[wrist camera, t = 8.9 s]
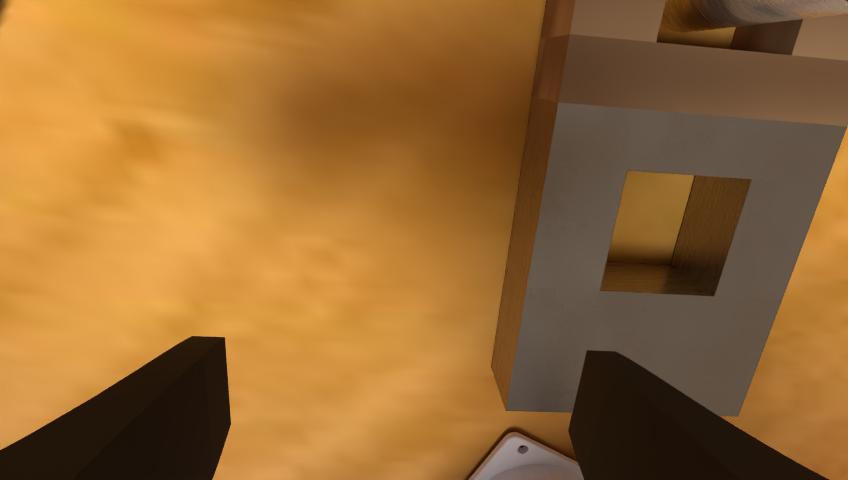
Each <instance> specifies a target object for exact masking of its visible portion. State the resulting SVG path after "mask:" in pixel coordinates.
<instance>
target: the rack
mask: <svg viewBox="0 0 848 480" xmlns="http://www.w3.org/2000/svg"><path fill="white" fill-rule="evenodd" d="M665 2H666V0H547V1H546V8H545V14H544V21H543V27H542V34H541V41H540V47H539V54H538V60H537V67H536V73H535V80H534V87H533V93H532V97H535V98H540V99H545V100H549V101H554V102H559V103H571V104H583V105H595V106H607V107H619V108H632V109H644V110H656V111H668V112H680V113H692V114H704V115H717V116H729V117H741V118H753V119H765V120H777V121H789V122H802V123H814V124H826V125H838V126H847V125H848V14H842V15H834V16H825V17H816V18H808V19H799V20H790V21H782V22H773V23H764V24H756V25H747V26H738V27H737V28H736V32H735V35H734V39H733V43H732V46H731V49H721V48H710V47H700V46H689V45H679V44H668V43H658V42H656V41H657V37H658V32H659V28H660V24H661V19H662V15H663V10H664V6H665Z"/></svg>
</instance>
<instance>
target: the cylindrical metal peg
mask: <svg viewBox="0 0 848 480" xmlns="http://www.w3.org/2000/svg"><path fill="white" fill-rule="evenodd" d="M842 14H848V0H666V2H665V6H664V10H663V15H662V19H661V24H660V27H662V28H663V29H665V30H667V31H670V32H674V33H687V32H695V31H704V30H712V29H721V28H730V27H738V26H747V25H756V24H764V23H773V22H782V21H790V20H799V19H808V18H816V17H825V16H834V15H842Z"/></svg>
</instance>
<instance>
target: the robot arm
mask: <svg viewBox="0 0 848 480" xmlns="http://www.w3.org/2000/svg"><path fill="white" fill-rule="evenodd" d="M230 425H231V418H230V404H229V390H228V376H227V362H226V348H225V337H200V336H192V337H190V338H188V339H186V340H184V341H182V342H181V343H179V344H177V345H176V346H174V347H172V348H171V349H169V350H168V351H166V352H164V353H163V354H161V355H160V356H158V357H157V358H155V359H154V360H152V361H150V362H149V363H147V364H146V365H144V366H143V367H141V368H139V369H138V370H136V371H135V372H133V373H132V374H130V375H128V376H127V377H125V378H124V379H122V380H120V381H119V382H117V383H116V384H114V385H112V386H111V387H109V388H108V389H106V390H104V391H103V392H101V393H100V394H98V395H96V396H95V397H93V398H92V399H90V400H88V401H86V402H85V403H83V404H81V405H80V406H78V407H76V408H74V409H73V410H71V411H69V412H67V413H66V414H64V415H62V416H61V417H59V418H57V419H55V420H54V421H52V422H50V423H49V424H47V425H45V426H43V427H42V428H40V429H38V430H36V431H35V432H33V433H31V434H30V435H28V436H26V437H24V438H22V439H21V440H19V441H17V442H15V443H13V444H11V445H9V446H8V447H6V448H4V449H2V450H0V480H212V478H213V476H214V474H215V471H216V468H217V465H218V462H219V459H220V456H221V453H222V450H223V447H224V444H225V441H226V438H227V435H228V431H229V428H230ZM568 431H569V434H570V438H571V441H572V444H573V448H574V451H575V454H576V458H577V460H578V462H577V461H575V460H573V459H571V458H569V457H566V456H564V455H562V454H560V453H558V452H556V451H554V450H552V449H550V448H548V447H546V446H544V445H542V444H540V443H538V442H536V441H534V440H532V439H530V438H528V437H526V436H524V435H522V434H520V433H517V432H511V433H509V434H507V435H506V436H505V437H504V438H503V439H502V440H501V442H500V443H499V444H498V445H497V446H496V447H495V449H494V450H493V451H492V452H491V453H490V455H489V456H488V457H487V458H486V459H485V461H484V462H483V463H482V464H481V465H480V467H479V468H478V469H477V470H476V471H475V473H474V474H473V475H472V476H471V477H470V479H469V480H829V479H827V478H825V477H823V476H821V475H819V474H817V473H815V472H813V471H811V470H810V469H808V468H806V467H804V466H802V465H801V464H799V463H797V462H795V461H793V460H792V459H790V458H788V457H786V456H784V455H783V454H781V453H779V452H778V451H776V450H774V449H772V448H771V447H769V446H767V445H766V444H764V443H762V442H761V441H759V440H757V439H756V438H754V437H752V436H750V435H749V434H747V433H745V432H744V431H742V430H740V429H739V428H737V427H736V426H734V425H732V424H731V423H729V422H728V421H726V420H724V419H723V418H721V417H720V416H718V415H716V414H715V413H713V412H712V411H710V410H708V409H707V408H705V407H704V406H702V405H701V404H699V403H698V402H696V401H694V400H693V399H691V398H690V397H688V396H687V395H685V394H684V393H682V392H681V391H679V390H678V389H676V388H675V387H673V386H671V385H670V384H668V383H667V382H665V381H664V380H662V379H661V378H659V377H658V376H656V375H655V374H653V373H651V372H650V371H648V370H647V369H645V368H644V367H642V366H640V365H639V364H637V363H636V362H634V361H632V360H631V359H629V358H627V357H625V356H623V355H622V354H620V353H618V352H616V351H594V350H587V352H586V356H585V360H584V365H583V369H582V373H581V378H580V382H579V386H578V391H577V395H576V399H575V404H574V408H573V413H572V417H571V421H570V426H569V430H568ZM522 445H525V446H524V447H521V448H519V447H520V446H522Z"/></svg>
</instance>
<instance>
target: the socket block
mask: <svg viewBox="0 0 848 480" xmlns="http://www.w3.org/2000/svg"><path fill="white" fill-rule="evenodd" d="M846 129H847V126H838V125H826V124H814V123H802V122H789V121H777V120H765V119H753V118H741V117H729V116H717V115H704V114H692V113H680V112H668V111H656V110H644V109H632V108H619V107H607V106H595V105H583V104H571V103H559V102H554V101H549V100H545V99H540V98H535V97H532V102H531V108H530V115H529V121H528V128H527V134H526V141H525V148H524V154H523V161H522V167H521V174H520V180H519V187H518V193H517V200H516V207H515V213H514V220H513V226H512V233H511V239H510V246H509V253H508V259H507V266H506V272H505V279H504V285H503V292H502V298H501V305H500V312H499V318H498V325H497V331H496V338H495V344H494V351H493V358H492V364H491V368H492V371H493V374H494V377H495V380H496V383H497V386H498V389H499V392H500V395H501V398H502V401H503V404H504V407H505V410H506V411H535V412H573V408H574V404H575V399H576V395H577V391H578V386H579V382H580V378H581V373H582V369H583V365H584V360H585V356H586V352H587V350H594V351H616V352H618V353H620V354H622V355H623V356H625V357H627V358H629V359H631V360H632V361H634V362H636V363H637V364H639V365H640V366H642V367H644V368H645V369H647V370H648V371H650V372H651V373H653V374H655V375H656V376H658V377H659V378H661V379H662V380H664V381H665V382H667V383H668V384H670V385H671V386H673V387H675V388H676V389H678V390H679V391H681V392H682V393H684V394H685V395H687V396H688V397H690V398H691V399H693V400H694V401H696V402H698V403H699V404H701V405H702V406H704V407H705V408H707V409H708V410H710V411H712V412H713V413H715V414H716V415H718V416H738V415H739V413H740V410H741V407H742V405H743V402H744V399H745V397H746V394H747V391H748V389H749V386H750V383H751V381H752V378H753V375H754V373H755V370H756V368H757V365H758V362H759V360H760V357H761V354H762V352H763V349H764V346H765V344H766V341H767V338H768V336H769V333H770V330H771V328H772V325H773V322H774V320H775V317H776V314H777V312H778V309H779V306H780V304H781V301H782V298H783V296H784V293H785V291H786V288H787V285H788V283H789V280H790V277H791V275H792V272H793V269H794V267H795V264H796V261H797V259H798V256H799V253H800V251H801V248H802V245H803V243H804V240H805V237H806V235H807V232H808V229H809V227H810V224H811V221H812V219H813V216H814V214H815V211H816V208H817V206H818V203H819V200H820V198H821V195H822V192H823V190H824V187H825V184H826V182H827V179H828V176H829V174H830V171H831V168H832V166H833V163H834V160H835V158H836V155H837V152H838V150H839V147H840V145H841V142H842V139H843V137H844V134H845V131H846ZM627 171H641V172H655V173H669V174H684V175H696V176H695V179H694V183H693V187H692V190H691V194H690V197H689V201H688V204H687V208H686V212H685V215H684V219H683V222H682V226H681V229H680V233H679V237H678V240H677V244H676V247H675V251H674V254H673V258H672V262H671V265H660V264H641V263H622V262H606V261H607V256H608V252H609V247H610V243H611V239H612V234H613V230H614V226H615V221H616V217H617V213H618V208H619V204H620V200H621V195H622V191H623V186H624V182H625V178H626V173H627Z"/></svg>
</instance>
